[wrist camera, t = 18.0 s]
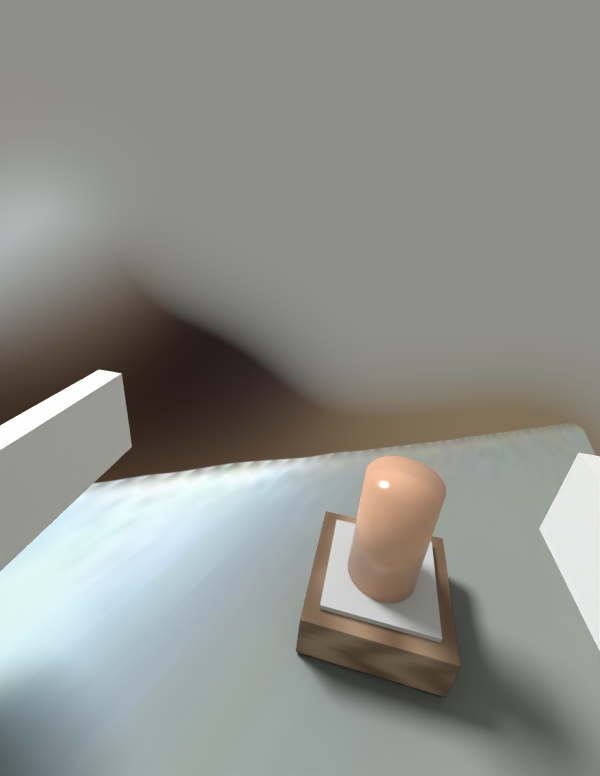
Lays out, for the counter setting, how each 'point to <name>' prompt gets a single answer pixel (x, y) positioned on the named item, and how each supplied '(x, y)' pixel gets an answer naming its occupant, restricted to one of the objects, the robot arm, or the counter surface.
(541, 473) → the counter surface
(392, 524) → the peach glossy cylinder
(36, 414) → the robot arm
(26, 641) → the counter surface
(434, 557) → the walnut base
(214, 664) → the counter surface
